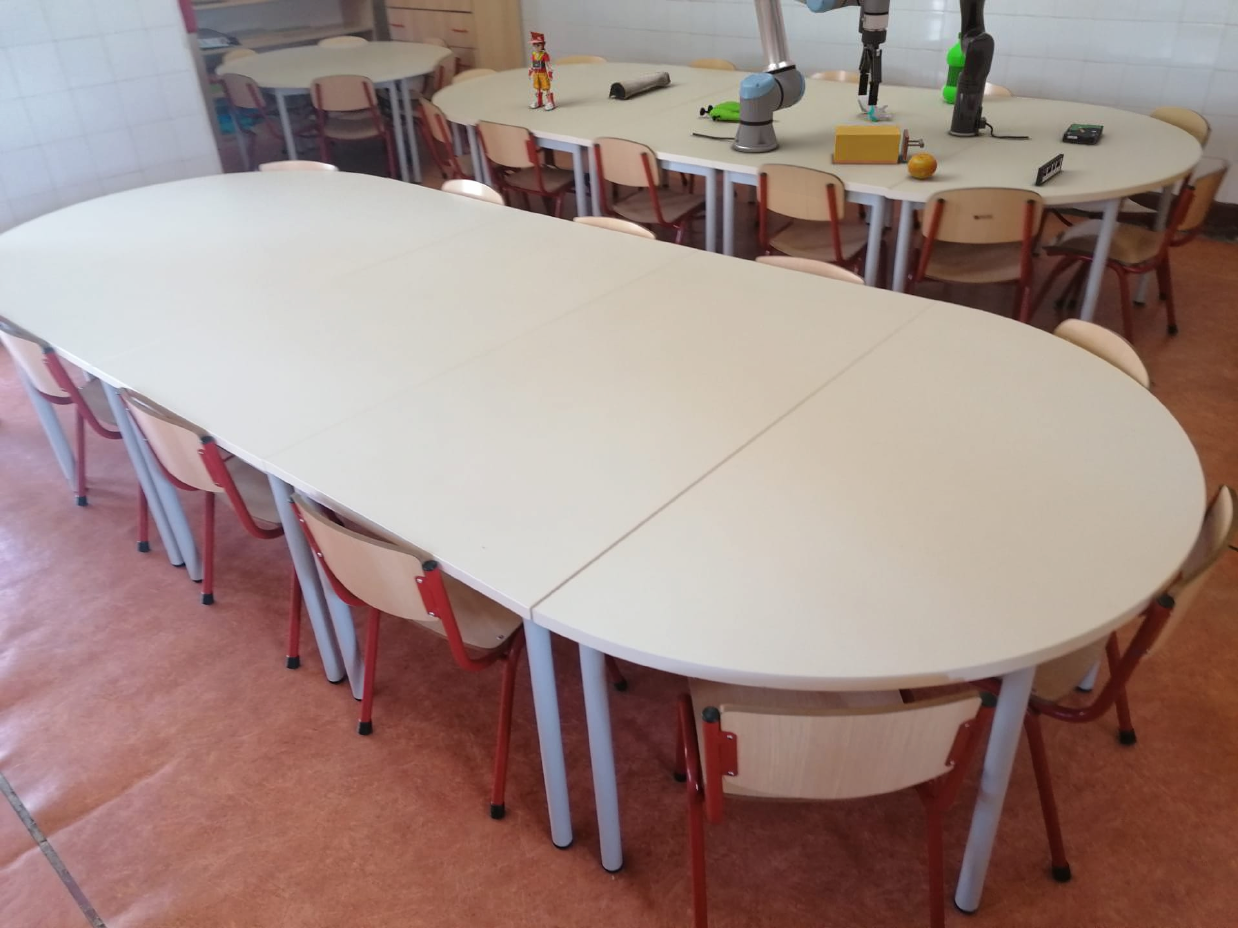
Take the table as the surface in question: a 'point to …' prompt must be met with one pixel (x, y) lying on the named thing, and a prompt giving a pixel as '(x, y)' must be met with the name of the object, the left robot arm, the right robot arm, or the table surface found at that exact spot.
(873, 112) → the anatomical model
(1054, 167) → the midi keyboard
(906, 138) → the drawer
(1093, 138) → the disk drive
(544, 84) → the toy
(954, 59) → the plastic bottle
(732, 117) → the toy
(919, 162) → the fruit
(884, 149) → the cabinet
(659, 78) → the rolled mat
